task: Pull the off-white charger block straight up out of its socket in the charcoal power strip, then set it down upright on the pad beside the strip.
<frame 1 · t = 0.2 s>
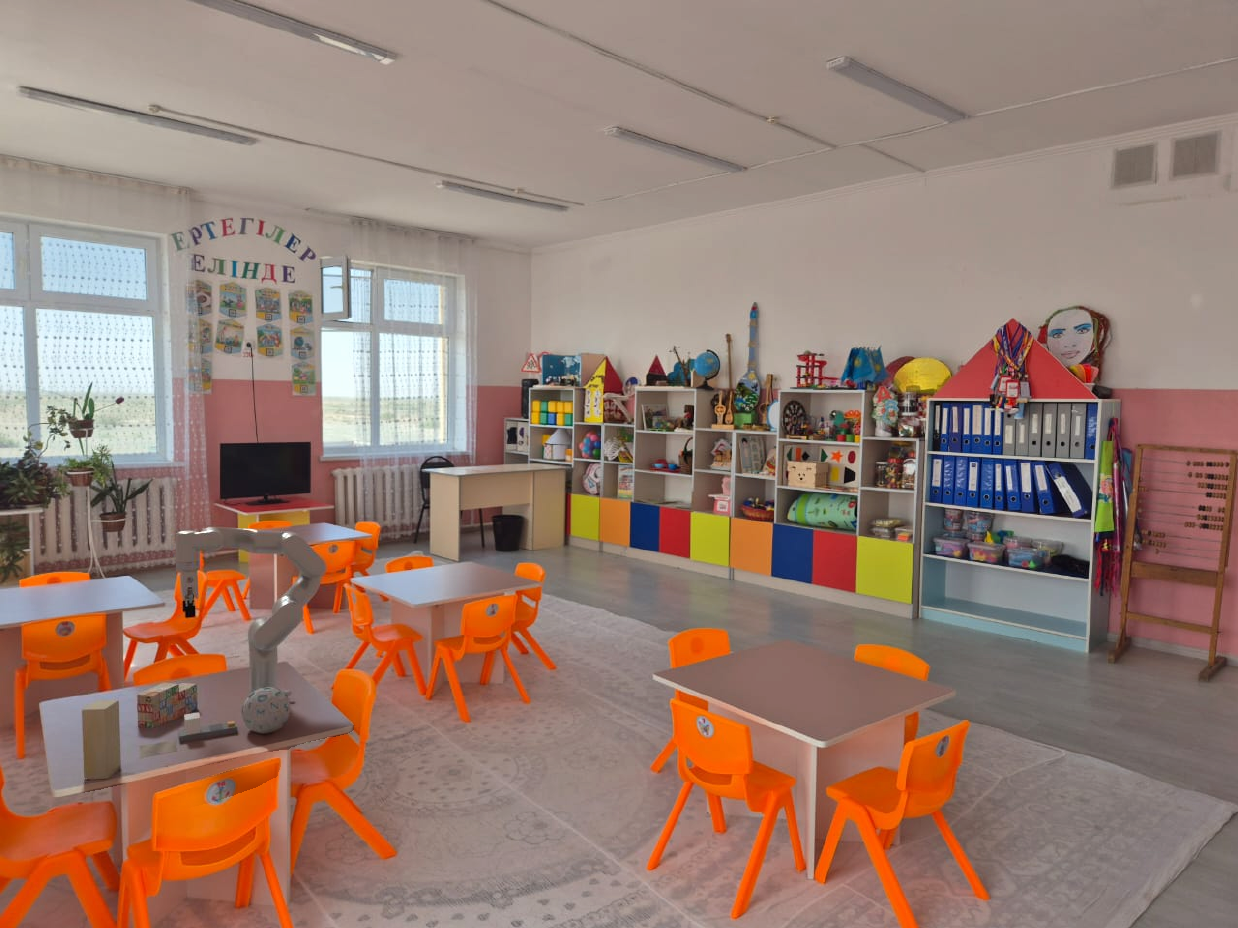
hand: (189, 614, 290), 36 cm above the table, tool pointing down, fingers open, 9 cm apart
charger: (192, 736, 271), point 1 cm above the table, touching power strip
puzzle ball: (266, 732, 279), on the table
tall wooden block: (101, 774, 245), on the table
stack of blocks: (168, 719, 289), on the table
pad: (158, 751, 261), on the table
power strip: (207, 737, 273), on the table
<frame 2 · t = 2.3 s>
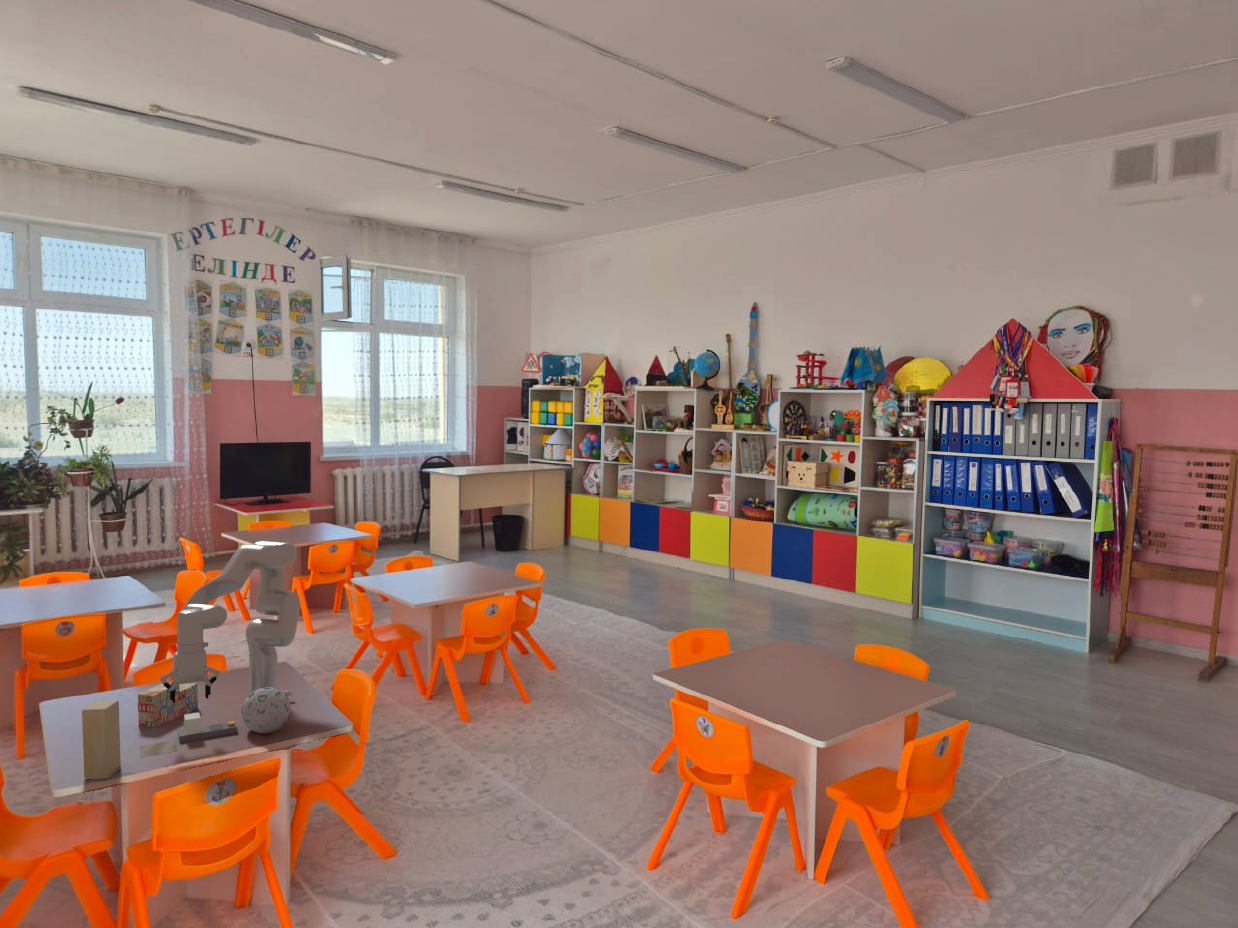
hand: (190, 699, 269), 14 cm above the table, tool pointing down, fingers open, 9 cm apart
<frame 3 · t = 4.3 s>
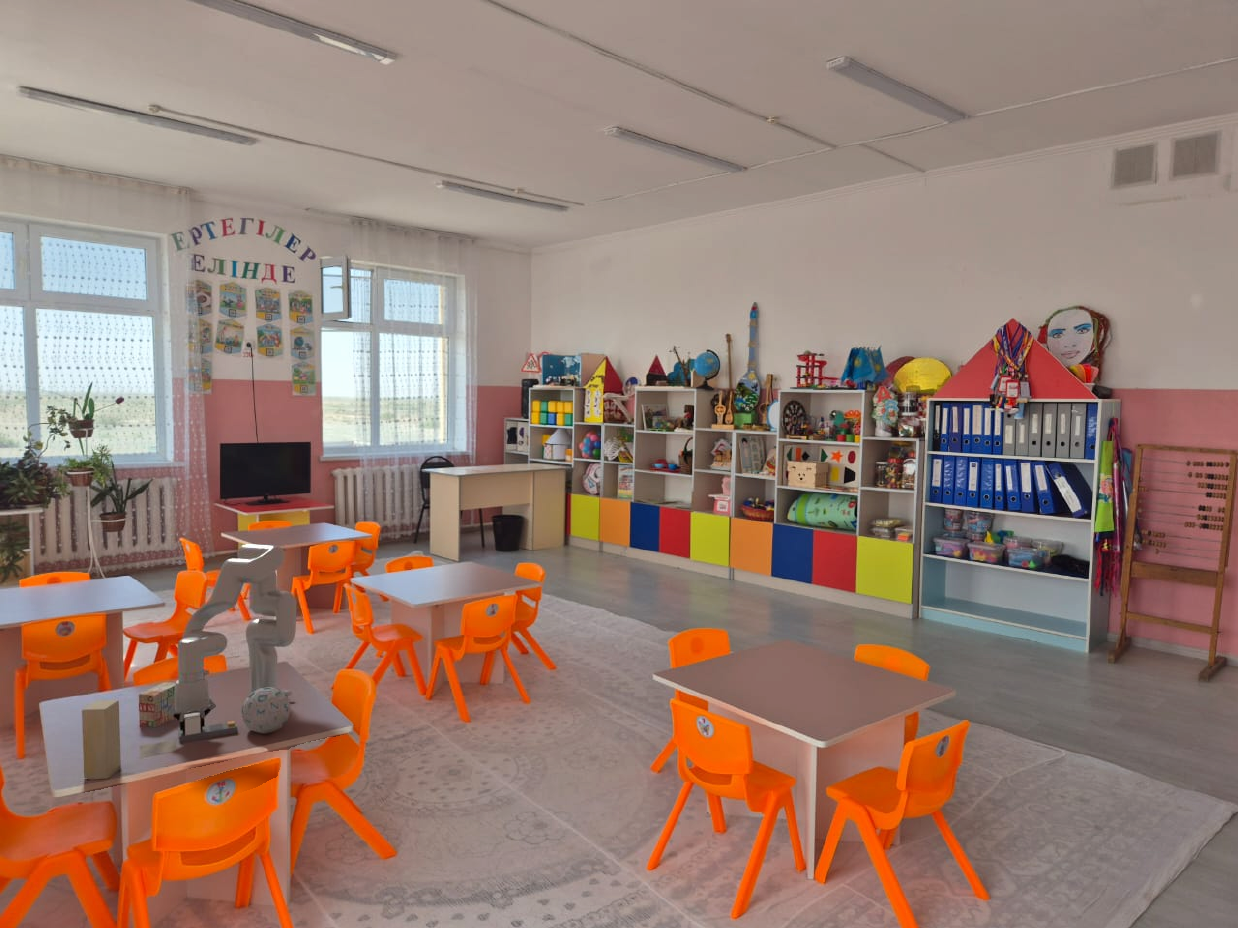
hand: (192, 729, 271), 3 cm above the table, tool pointing down, fingers closed on charger, 4 cm apart
charger: (192, 736, 271), point 1 cm above the table, touching gripper, power strip
everything else where it was.
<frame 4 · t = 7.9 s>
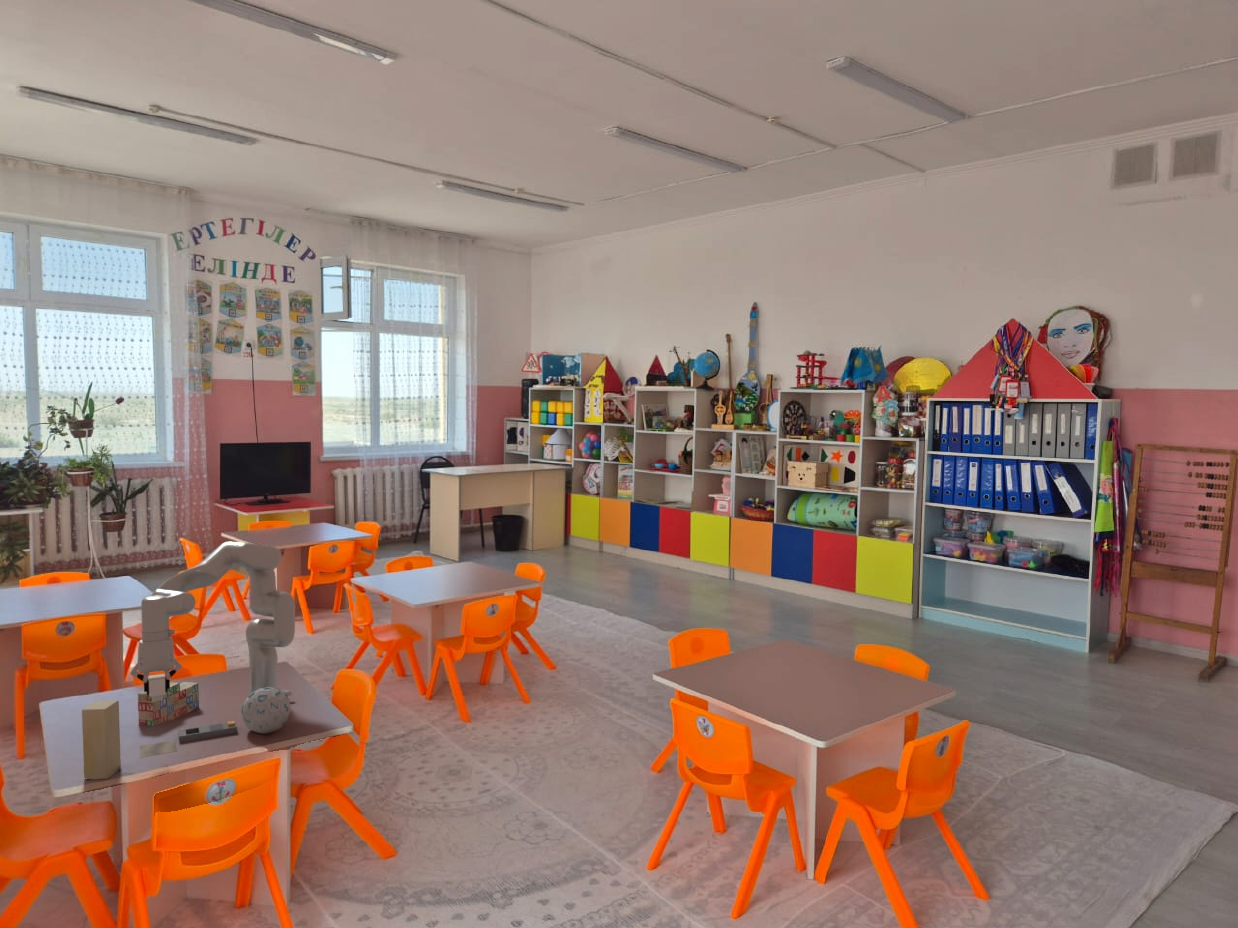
hand: (157, 691, 260), 19 cm above the table, tool pointing down, fingers closed on charger, 4 cm apart
charger: (157, 699, 260), point 17 cm above the table, touching gripper
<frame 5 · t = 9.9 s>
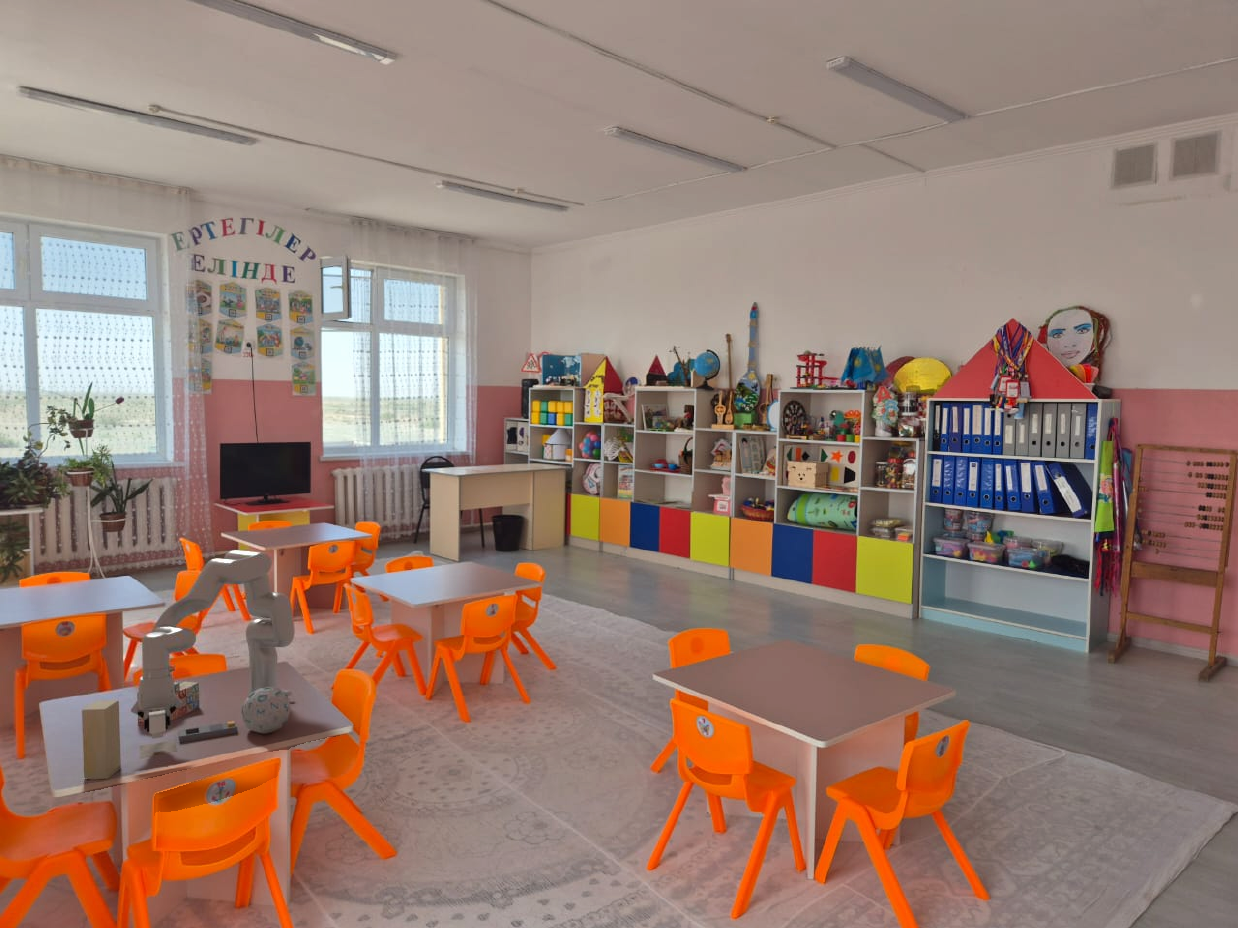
hand: (157, 728, 261), 8 cm above the table, tool pointing down, fingers closed on charger, 4 cm apart
charger: (157, 735, 261), point 5 cm above the table, touching gripper
when the fingers open (4 cm above the table, at t = 11.4 s): charger stays where it is, resting on pad.
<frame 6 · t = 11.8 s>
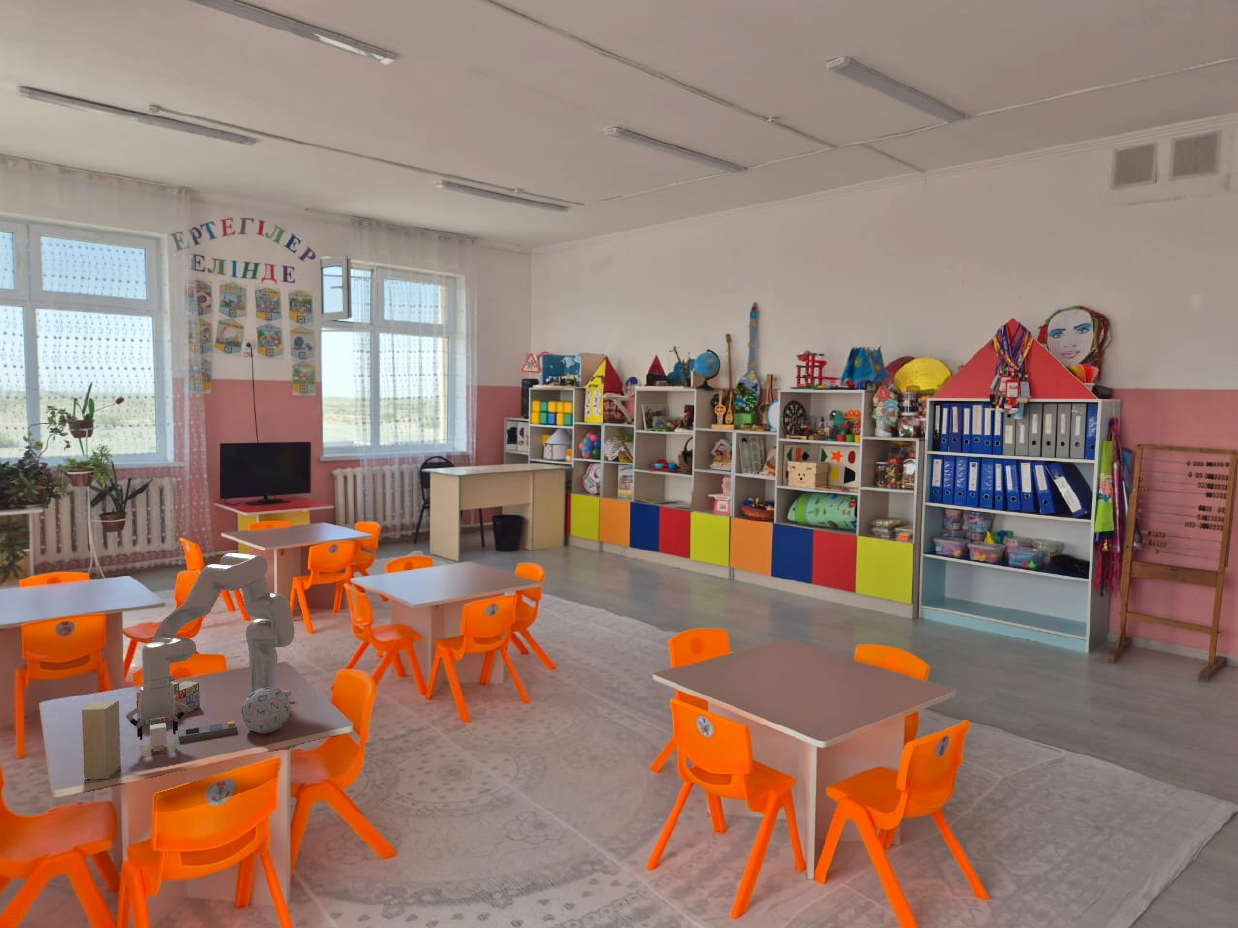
hand: (157, 735, 261), 5 cm above the table, tool pointing down, fingers open, 8 cm apart
charger: (158, 748, 261), point 1 cm above the table, touching pad
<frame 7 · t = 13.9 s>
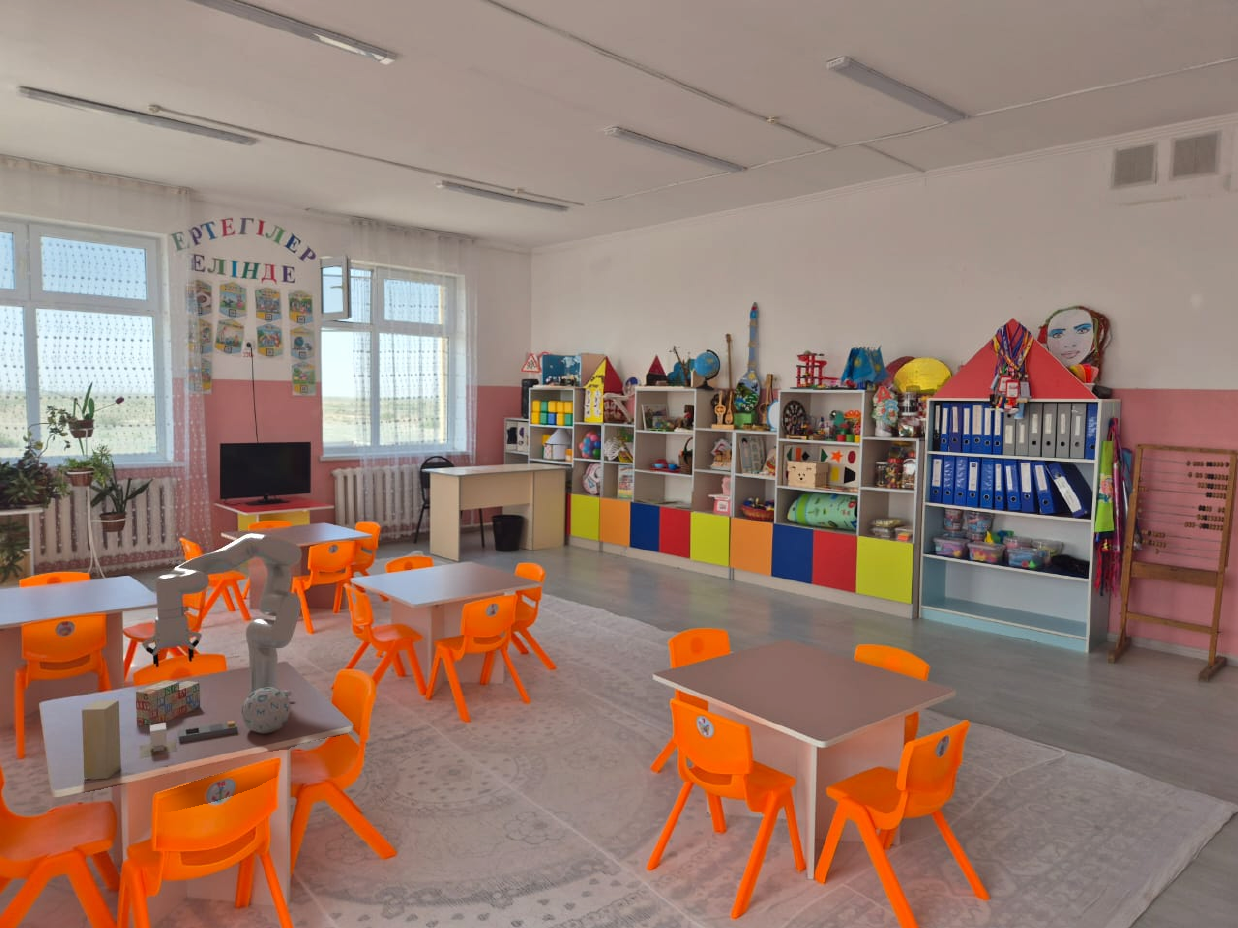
hand: (173, 663, 272), 25 cm above the table, tool pointing down, fingers open, 9 cm apart
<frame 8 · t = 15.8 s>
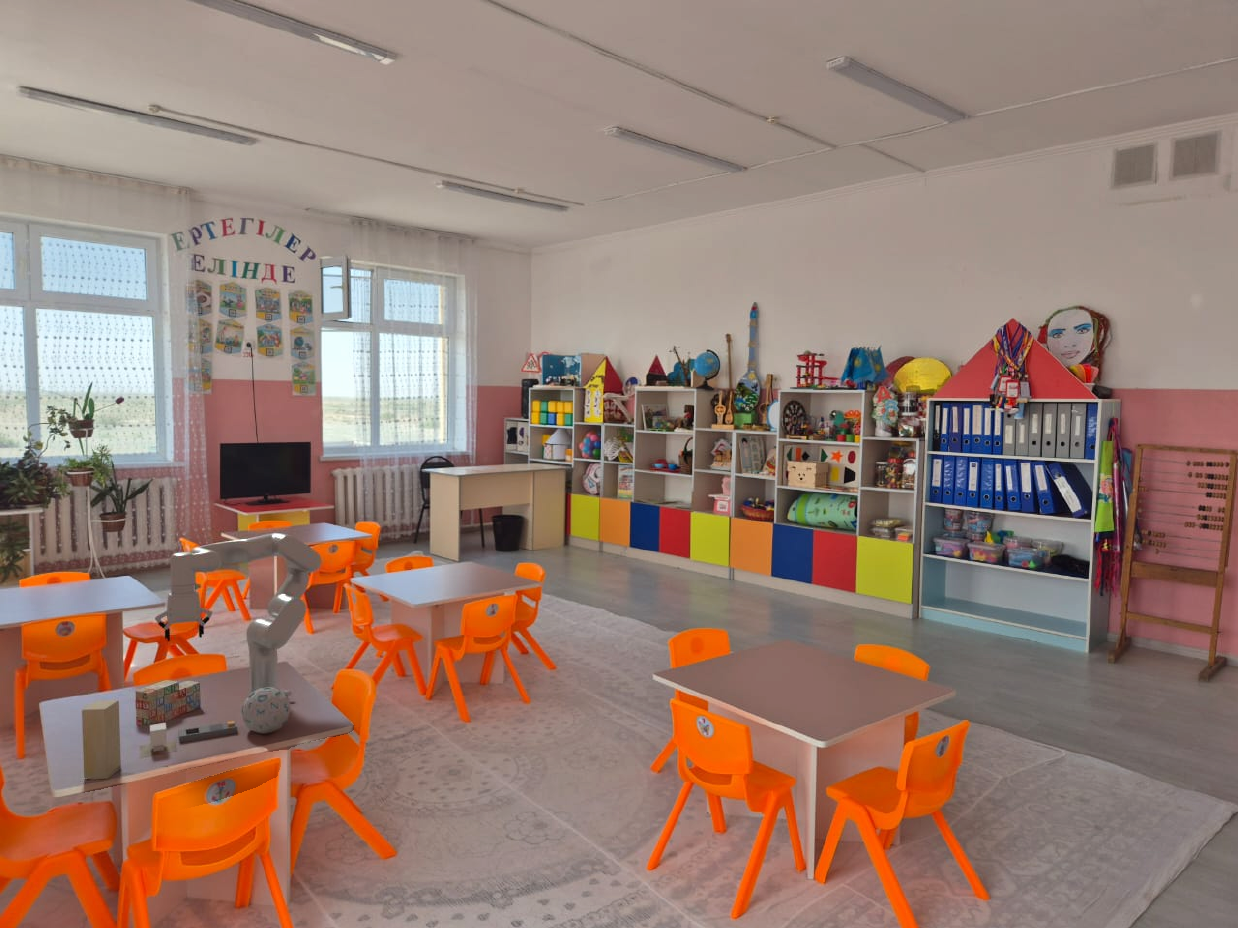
hand: (184, 638, 281), 30 cm above the table, tool pointing down, fingers open, 9 cm apart
at the end: charger inside the target area on the pad (0.1 cm from its centre), point 1.0 cm above the pad's base; charger tilted 0°; the gripper is holding nothing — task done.
